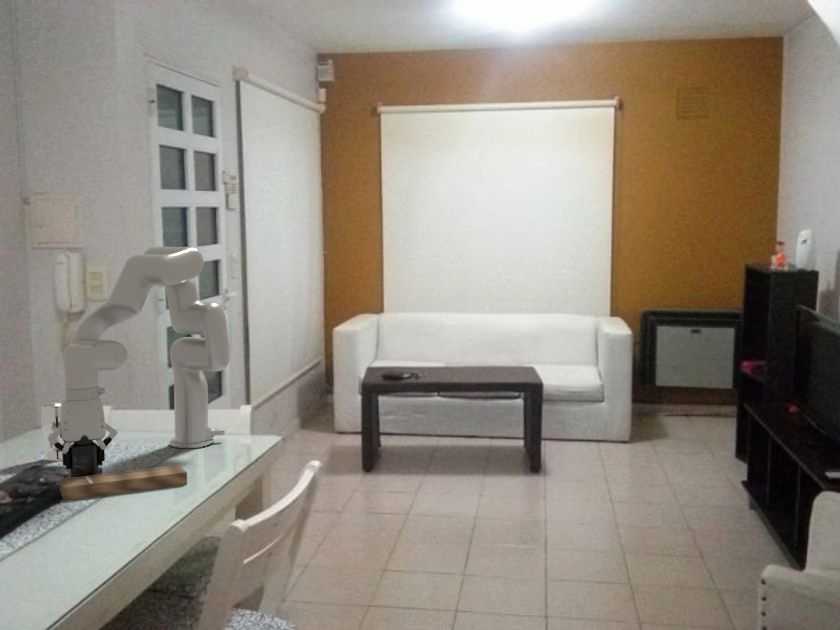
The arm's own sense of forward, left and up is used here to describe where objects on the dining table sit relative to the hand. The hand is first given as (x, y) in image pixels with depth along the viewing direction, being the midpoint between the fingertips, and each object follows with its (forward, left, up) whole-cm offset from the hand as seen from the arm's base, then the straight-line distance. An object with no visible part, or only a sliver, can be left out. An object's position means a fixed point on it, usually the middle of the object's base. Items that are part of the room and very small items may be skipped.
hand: (83, 465), depth 207 cm
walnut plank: (-8, +9, -4) cm, 12 cm away
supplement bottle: (0, 0, -4) cm, 4 cm away
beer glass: (+3, -29, -5) cm, 30 cm away
